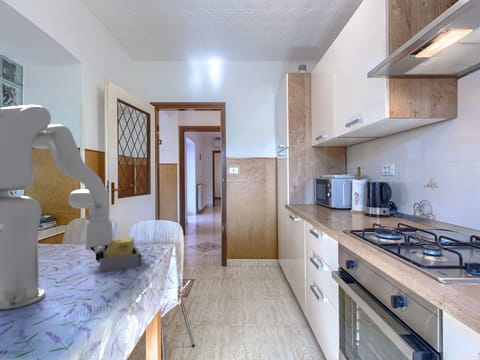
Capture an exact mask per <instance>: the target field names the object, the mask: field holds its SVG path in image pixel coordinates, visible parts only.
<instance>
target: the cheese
mask: <svg viewBox="0 0 480 360" xmlns="http://www.w3.org/2000/svg"><path fill="white" fill-rule="evenodd" d="M134 244H135V240H134V236H133V237H121V238H120V237H119V238H113V242H112V244H110V245H108V248H107V250H106V255H107V257H106V258H109V257H116V256H124V255H131V254H134Z"/></svg>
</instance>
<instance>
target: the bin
mask: <svg viewBox="0 0 480 360" xmlns="http://www.w3.org/2000/svg"><path fill="white" fill-rule="evenodd" d="M98 250H99V253H100V250H101V247H98ZM106 250H107V249H106ZM106 250H105V251H104V258H101V259H100V262H99V272H100V273H102V272H111V271H115V270H116V271H117V270H123V269H128V268H135V267H141V266H142V254H141V251H140V250H139V248H138V247H137V244H135V243H134V254H131V255H124V256H116V257H109V258H106V257H107V255H106Z"/></svg>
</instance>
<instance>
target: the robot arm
mask: <svg viewBox="0 0 480 360" xmlns="http://www.w3.org/2000/svg"><path fill="white" fill-rule="evenodd" d="M51 115H52V114H51V113H50V111H49V110H48V108H46V107H44V106H41V105H37V104H28V105H18V106H7V107H2V108H0V228H2V230H1V232H0V309H4V310H10V309H12V308H13V309H17V308H22V307H25V306H28V305H31V304H34V303H36V302H38V301H40V300H41V299H43V298H44V297H45V295H46V291H45V289H43V288H39V287H40V285H39V283H40V282H39V279H40V278H39V277H40V275H39V227H40V222H41V218H42V207H41V204H40V203H39V202H38V200H36V199H35V198H33V197H31V196H26V195H25V196H24V195H9V193H10V192H21V191H27V190H28V189H29V188H31V187H32V185H33V182H34V167H33V166H34V164H33V149H37V150H49V152H50V154H51V156H52V158H53V161H54V163H55V165H56V167H57V170H58V171H59V172H60V173H62V174H64V175H65V176H68V177H70V178H71V179H75V180H76V181H78V182H80V183H82V184H83V185H84V186H85V187H86V189H76V190H74V191H72V192H70V194H69V195H68V198H67V202H68V204H69V205H70V207H72V208H74V209H80V210H81V209H86V210H87V209H88V213H89V214H88V215H87V216H85V217H84V218H85V219H84V220H86V221H88V222H86V223H87V224H86V226H85V227H86V229H85V246H84V247H85V250H90V251H92V252H93V253H95V261H97V263H98V264H100V259H101V258H104V251H105V250H106V249H107V248H108V245H110V244H112V242H113V239H114V234H113V223H112V220H110V193H109V191H108V189H106V187H105V185H104V182H103V180H102V179H101V177H100V176H99V175H98V174H97V173H96V172H95V171H94V170H92V169H91V168H90V167H89V166H88V165H87V164H86V163H84V161H83V157H82V155H81V153H80V151H79V148H78V145H77V143H76V140H75V138H74V135H73V133H72V131H71V129H70V128H68V127H67V126H65V125H62V124H51V120H52V116H51ZM99 247H100V248H101V250H100V253H99Z"/></svg>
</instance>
